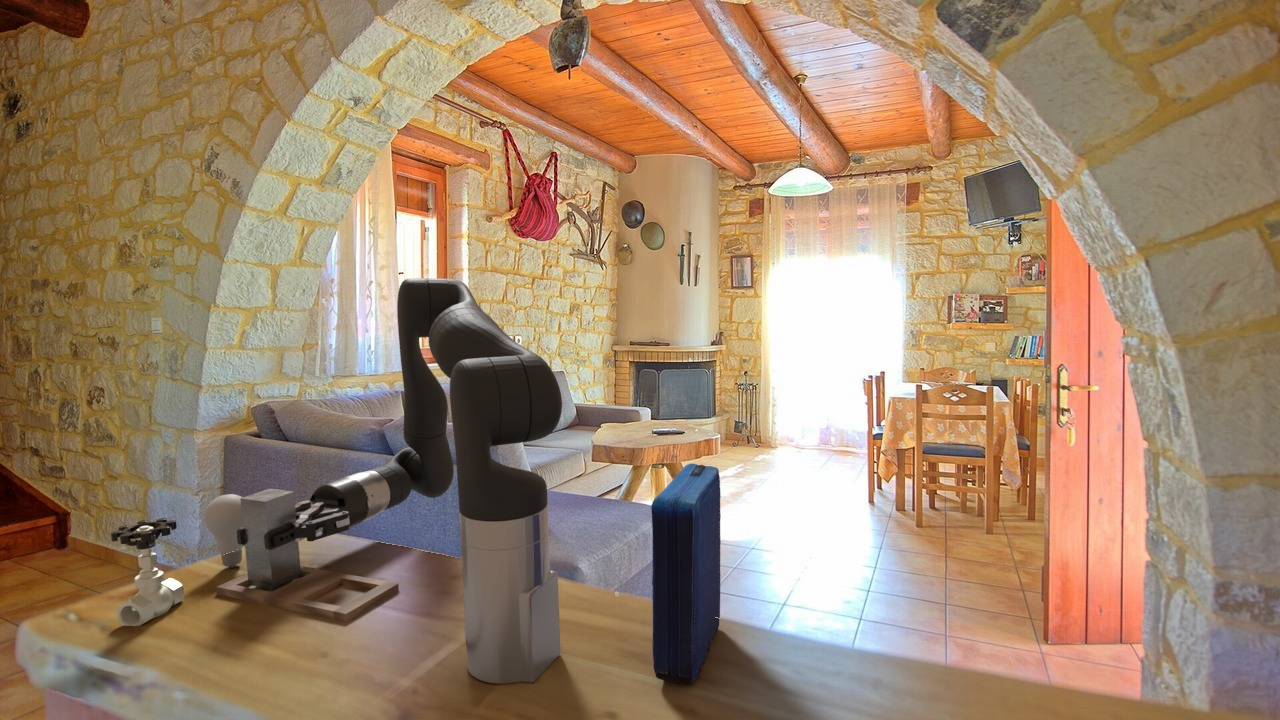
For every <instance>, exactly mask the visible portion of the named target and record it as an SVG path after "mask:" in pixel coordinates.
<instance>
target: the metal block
mask: <svg viewBox="0 0 1280 720" xmlns="http://www.w3.org/2000/svg"><path fill="white" fill-rule="evenodd" d="M242 497H243V498H240V500H241V510H242V521H243V529H244V539H245V545H244V548H245V549H244V551H245V560H246V571H247V573H248V583H249V585H252V586H257V587H262V588H267V589H272V590H273V589H275V588H277V587H280V586H282V585H284V584H286V583H288V582H290V581H292V580H294V579H296V578H298V577H300V576H301V567H300V566H301V560H300V559H301V558H300V548H299V547H300V545H299V541H298V542H297V541H291V542H289V543H287V544H284V545H282V546H280V547H277V548H275V549H273V550H269V549H266V548H265V542H264V536H265V534H266V533H268V532H271V531H273V530H276V529H278V528H281V527H283V526H286V525H292V523H293V522H295V521H296V509H295V505H296V500H295V491H292V490H287V489H286V490H284V489H276V488H267V489H265V490H261V491H259V492H254V493H252V494H249V495H246V496H242ZM247 573H246V574H247Z"/></svg>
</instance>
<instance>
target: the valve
mask: <svg viewBox="0 0 1280 720" xmlns="http://www.w3.org/2000/svg"><path fill="white" fill-rule="evenodd" d="M177 528H178V526H177V521H176V520H168V518H166V517H161V518H158V519H156V520H155V521H154V520H153V521H149V520H148V519H141V520H139V521H137V522H136V524H134V525H128V524H123V525H120V526H118V527H117V529H118V530H115V531H112V532H110V540H111V542H118V541H119V542H120V545H127V546H130V547H136V550H139V551H140V550H141V554H140V555H138V556H137V562H138V567H139V568H141V570H140V571H139V574H138V575H136V576H135V577H134V578H133V579H134V586H135V588H138V592H137V593H136V594H135V595H134V596H133V598H131V599H129V600H127V601H125V602H124V603H122V604H120V605H119V606H118V607H117V609H116V611H117V613H116V615H117V620H118V622H119V624H121V626H123V627H125V626H127V627H129V626H132V627H140V626H142V625H143V624H145V623H147V622H149V621H150V620H152V619H156V618H158V617H160V616H163V615H164V614H166V613H168V611H170V609H171V608H172V607H174V606H175V605H176V604H179V603H180V602H182V601H183V600H185V590H184V586H183V584H182V583H181V582H180V581H178V580H176V579H175V578H171V577H169V578H168V579H166V580H165V574H164V571H162V570H159V569H158V568H157V567H155V566H156V565H157V564H158V560H157V553H156V552H153V551H152V549H153V547H155V546H156V545H157V544H156V543H157V542H156V540H158V538H159V537H160V535H161V537H167V536H170V535H172V533H171V531H174V530H177Z"/></svg>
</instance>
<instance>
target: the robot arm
mask: <svg viewBox="0 0 1280 720" xmlns="http://www.w3.org/2000/svg"><path fill="white" fill-rule="evenodd" d="M397 293H398V294H397V300H396V301H397V303H396V304H397V306H396V307H397V309H396V310H397V328H398V330H397V331H398V341H399V342H398V343H399V344H398V345H399V354H400V364H401V365H400V366H401V372H402V373H401V374H402V380H403V381H402V383H403V394H404V398H403V399H404V406H403V407H404V409H403V430H402V431H403V440H404V441H405V442H404V443H405V444H406V445H407V446H408V447H405V448H403V449H401V450H399V451H397V452H396V453H395V454H394V455H393V456H391V458H389V459H388V460H387V461H385V463H383V464H381V465H379V466H377V467H373V468H371V469H369V470H366V471H360V472H356V473H353V474H349V475H346V476H344V477H340V478H339V479H336V480H333V481H330V482H327V483H324V484H322V485H320V486H318V487H316V489H315V490H314V491H313V493H312V495H311V497H310V498H309V500H308V499H307V500H303V501H299V502H297V503H295V509H296V521H295V522H293V523H292V525H286V526H283V527H281V528H278V529H276V530H273V531H271V532H268V533H266V534H265V536H264V542H265V548H266V549H269V550H273V549H275V548H277V547H280V546H282V545H284V544H287V543H289V542H291V541H297V542H298V543H299V542H300V541H303V540H304V539H306V541H307V542H315V541H317V540H320V539H324V538H326V537H327V538H328V537H330V536H333V535H336V534H339V533H342V532H346V531H348V530H350V528H353V527H355V526H357V525H360V524H362V523H364V522H366V521H368V520H371V519H372V518H374V517H376V516H377V515H379V514H380V513H382V512H384V511H386V510H389V509H392V508H393V507H396V506H398V505H400V504H402V503H403V502H405V501H406V500H407V499H408V498H409V496H410V495H411V492H412V491H414V492H416V493H418V494H420V495H422V496H424V497H426V498H431V499H432V498H433V499H435V498H439V497H441V496H443V495H444V494H445V493H446V492H447V491H448V490H449V488H450V487H451V485H452V482H453V478H454V473H455V472H454V471H455V469H454V460H453V455H452V454H451V453H452V452H451V449H450V444H449V440H448V437H447V425H448V414H449V413H448V411H449V407H448V406H449V405H448V398H447V396H446V393H445V390H444V388H443V387H442V384H441V383H440V381H439V380H438V379H437V377H436V376H435V374H434V373H433V372H432V370H431V368H430V367H429V365H428V364H427V362H426V360H425V358H424V356H423V353H422V349H421V346H420V345H421V344H420V343H421V342H420V338H421V339H422V338H428V348H429V349H430V354H431V355H432V358H433V360H435V362H436V364H437V365H438V367H439V369H440V370H441V372H442V373H443V374H444V375H445V376H446V377H447V378H448V379H449V402H450V403H449V404H450V412H451V413H450V415H451V421H452V422H451V423H452V431H453V439H454V440H453V441H454V450H455V451H454V452H455V462H456V463H455V464H456V477H457V479H456V480H457V493H458V494H457V495H458V510H459V529H460V530H459V531H460V535H459V536H460V552H461V553H460V554H461V555H460V556H461V572H462V573H461V574H462V592H463V593H462V594H463V595H462V596H463V615H464V632H465V650H466V651H465V653H466V666H467V667H466V668H467V671H468V672H469V673H470V675H471V676H473V677H474V678H476V679H477V680H479V681H482V682H486V683H490V684H511V683H512V684H513V683H517V682H518V683H519V682H528V683H534V682H535V681H536V680H537V679H538V678H539V677H541V674H543V673H544V672H545V671H546V670H547V668H548V667H549V666H550V665H552V663H553V662H555V660H556V659H557V658H558V657H559V656H560V655H561V652H562V650H561V627H560V623H561V622H560V598H559V596H560V595H559V575H558V572H557V571H555V570H551V566H550V538H549V508H548V507H549V506H548V487H547V486H548V485H547V483H546V480H545V479H544V478H543V477H542V476H541V475H539V474H537V473H536V472H533V471H530V470H526V469H520V468H516V467H512V466H509V465H505V464H503V463H500V462H497V461H496V460H495V459H493V458H492V456H491V455H492V454H491V447H496V446H497V447H498V446H505V445H513V444H520V443H529V442H533V441H538V440H541V439H543V438H545V437H548V436H549V435H551V434H552V433H553V431H555V429H557V426H558V424H559V422H560V420H561V416H562V410H563V400H562V399H563V398H562V394H561V393H562V392H561V388H560V385H559V383H558V380H557V377H556V375H555V374H554V371H553V370H552V368H551V367H550V366H549V364H548V363H547V361H545V360H544V358H543V357H541V356H539V355H538V354H537V353H535V352H533V351H531V350H530V349H528V348H526V347H524V345H523V346H522V345H521V344H519V343H518V342H517V341H515V340H514V339H513V338H512V337H510V335H508V334H507V333H506V332H505V331H503V329H502V328H501V326H499V325H498V324H497V322H496V321H494V319H493V318H492V317H491V316H489V314H487V313H486V312H485V311H484V310H483V309H482V308H481V306H480V305H479V304H478V303H477V301H476V299H475V298H474V296H473V294H472V292H471V290H470V288H469V287H468V286H467V284H466V283H464V282H463V281H461V280H458V279H455V278H425V277H423V278H422V277H421V278H420V277H414V278H413V277H411V278H405V279H404V280H402V282H401V284H400V286H399V288H398V292H397ZM237 542H238V544H240V545H243V546H245V539H244V529H243V527H242V528H239V529H238V530H237Z"/></svg>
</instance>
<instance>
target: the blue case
mask: <svg viewBox="0 0 1280 720" xmlns="http://www.w3.org/2000/svg"><path fill="white" fill-rule="evenodd" d="M719 472H720V471H719V468H718V467H716V466H711V465H704V464H696V463H687V464H686V465H684V466H683V467H682V468H681V470H680V472H679V473H678V474H677V475H676V477H675V478H673V479H672V481H671V482H669V484H668V485H667V486H666V487H665V488H664V489H663V490H662V491H660V493H659V494H658V495H657V496H656V497H654V499H653V501H652V504H651V506H650V510H651V526H652V527H651V528H652V576H651V577H652V578H651V579H652V580H651V587H652V658H653V659H652V661H653V671H654V674H655V677H656V679H658V680H663V681H669V682H674V683H682V684H684V685H692V684H694V683H695V682H696V680H697V678H698V677H699V676H700V674H701V672H702V668H703V667H704V665H705V663H706V659H707V655H708V652H710V651H711V650H710V649H711V645H712V642H713V640H714V638H715V634H716V633H717V632H718V630H719V628H720V620H721V619H718V618H720V617H721V517H722V516H721V499H722V498H721V496H722V495H721V477H720V473H719ZM715 617H718V618H715Z"/></svg>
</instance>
